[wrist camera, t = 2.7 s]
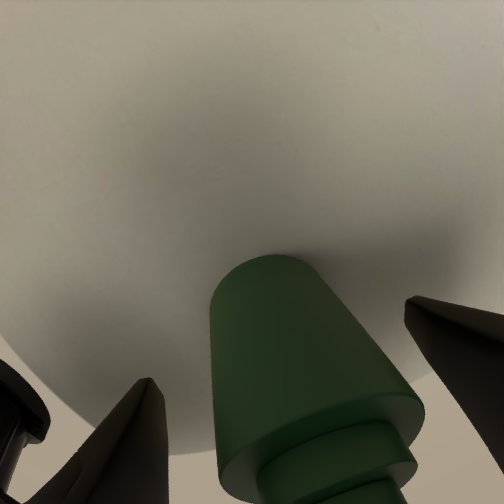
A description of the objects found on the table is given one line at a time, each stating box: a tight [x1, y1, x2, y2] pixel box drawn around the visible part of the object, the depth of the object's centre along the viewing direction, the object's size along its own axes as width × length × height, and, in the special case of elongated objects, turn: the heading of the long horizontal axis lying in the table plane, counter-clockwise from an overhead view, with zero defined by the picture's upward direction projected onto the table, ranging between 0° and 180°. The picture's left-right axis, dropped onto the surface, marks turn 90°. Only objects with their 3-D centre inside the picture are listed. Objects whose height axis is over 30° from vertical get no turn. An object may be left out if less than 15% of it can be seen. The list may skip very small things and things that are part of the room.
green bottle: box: [210, 255, 425, 504], centre depth 6 cm, size 4×4×10 cm
